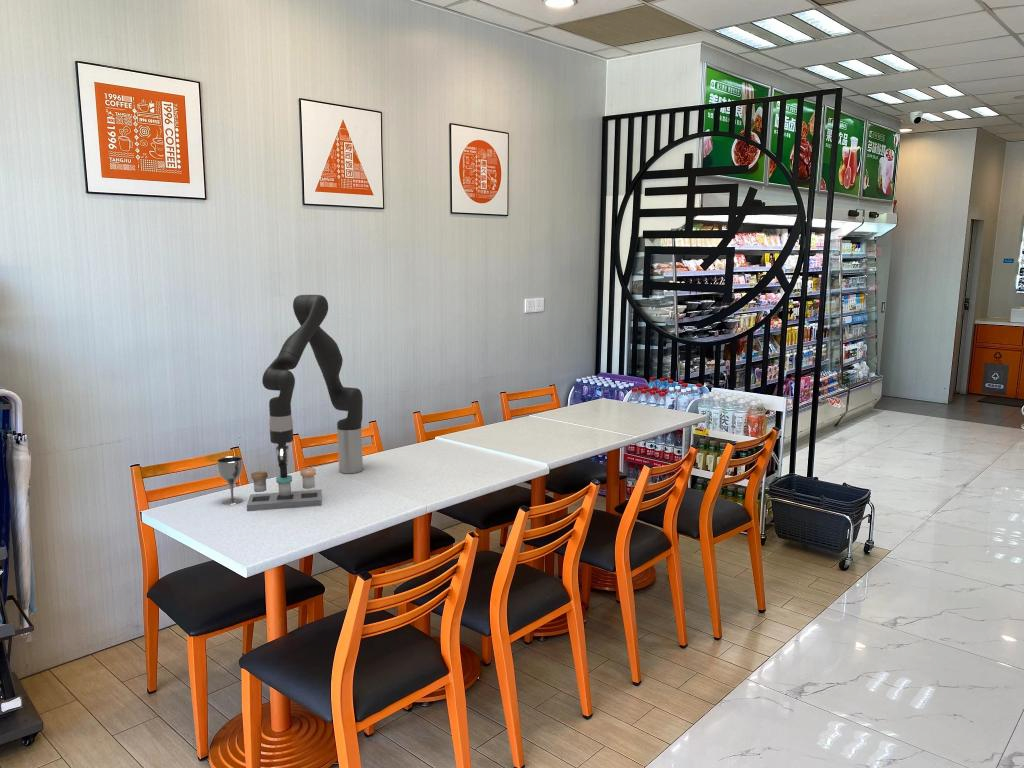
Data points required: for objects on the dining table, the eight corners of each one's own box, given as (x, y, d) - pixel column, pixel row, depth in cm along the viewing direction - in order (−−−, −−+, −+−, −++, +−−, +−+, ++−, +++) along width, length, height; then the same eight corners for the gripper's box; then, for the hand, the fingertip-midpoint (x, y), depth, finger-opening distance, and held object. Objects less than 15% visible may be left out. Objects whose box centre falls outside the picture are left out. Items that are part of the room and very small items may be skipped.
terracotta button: (301, 485, 268) (300, 468, 267) (316, 484, 269) (315, 467, 268) (300, 489, 263) (299, 472, 262) (316, 488, 264) (315, 471, 263)
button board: (250, 499, 268) (250, 494, 267) (321, 494, 273) (321, 489, 273) (247, 511, 256) (246, 505, 256) (321, 505, 262) (320, 499, 261)
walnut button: (253, 488, 264) (252, 471, 263) (268, 487, 265) (267, 470, 264) (251, 493, 259) (250, 476, 258) (267, 492, 260) (266, 475, 259)
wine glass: (216, 504, 263) (212, 462, 261) (227, 497, 271) (224, 456, 268) (237, 505, 262) (235, 462, 260) (248, 498, 270) (246, 456, 267)
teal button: (277, 492, 266) (276, 475, 265) (293, 491, 267) (292, 474, 266) (276, 496, 261) (275, 479, 260) (292, 495, 262) (291, 478, 261)
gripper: (271, 424, 266) (273, 472, 269) (268, 432, 253) (271, 483, 256) (293, 423, 267) (296, 471, 270) (291, 431, 255) (294, 482, 258)
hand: (284, 477), depth 263 cm, fingers closed
